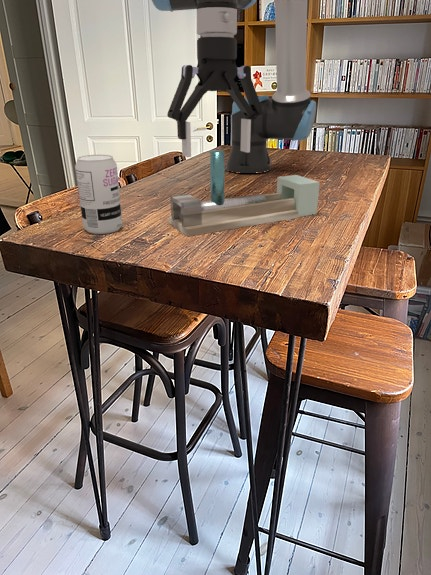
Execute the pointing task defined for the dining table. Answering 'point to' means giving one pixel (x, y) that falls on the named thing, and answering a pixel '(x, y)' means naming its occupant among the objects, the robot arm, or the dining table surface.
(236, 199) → the sliding bolt
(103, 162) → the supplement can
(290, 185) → the socket
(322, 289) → the dining table surface
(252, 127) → the robot arm
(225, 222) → the rail
